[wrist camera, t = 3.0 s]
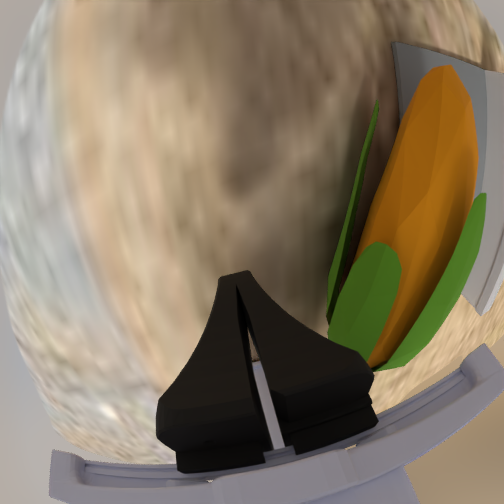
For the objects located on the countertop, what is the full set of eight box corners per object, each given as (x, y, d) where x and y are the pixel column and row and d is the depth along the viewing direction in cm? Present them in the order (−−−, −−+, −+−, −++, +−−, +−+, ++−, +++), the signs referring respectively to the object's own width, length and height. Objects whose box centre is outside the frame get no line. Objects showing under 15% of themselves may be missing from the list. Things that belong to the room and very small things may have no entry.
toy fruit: (330, 417, 14) (457, 21, 4) (296, 333, 20) (342, 40, 10) (415, 385, 15) (535, 100, 5) (373, 319, 22) (437, 78, 11)
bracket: (462, 282, 23) (489, 309, 19) (379, 320, 22) (406, 360, 18) (489, 73, 11) (535, 83, 7) (391, 42, 10) (454, 36, 6)
